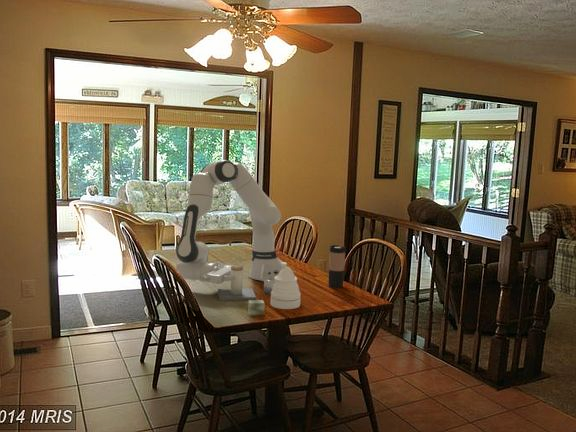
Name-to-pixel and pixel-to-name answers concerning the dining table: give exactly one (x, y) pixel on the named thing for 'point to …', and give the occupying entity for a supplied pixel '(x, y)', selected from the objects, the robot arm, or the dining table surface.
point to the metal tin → (268, 285)
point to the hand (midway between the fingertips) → (238, 276)
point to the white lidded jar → (236, 279)
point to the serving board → (226, 295)
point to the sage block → (256, 307)
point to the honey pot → (285, 290)
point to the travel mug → (336, 266)
